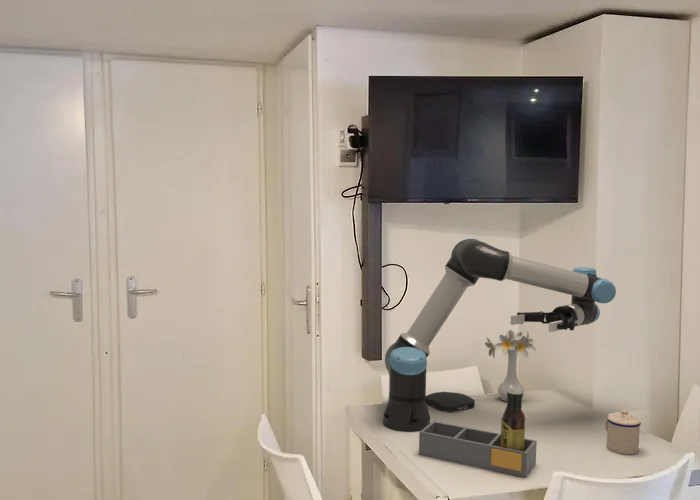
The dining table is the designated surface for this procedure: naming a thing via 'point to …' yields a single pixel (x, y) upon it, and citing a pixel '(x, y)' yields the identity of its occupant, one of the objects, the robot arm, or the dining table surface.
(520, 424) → the sauce bottle
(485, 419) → the dining table surface
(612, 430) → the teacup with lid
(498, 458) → the caddy
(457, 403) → the media streaming box
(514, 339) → the flower vase
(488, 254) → the robot arm
